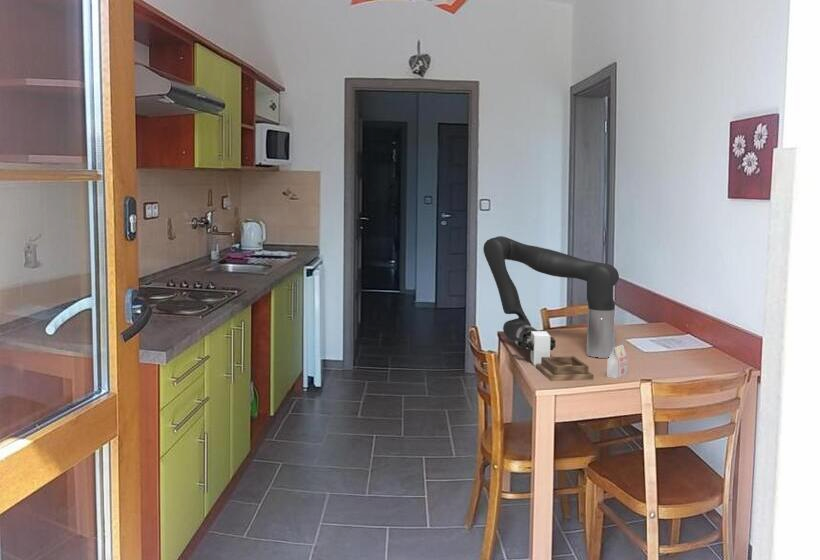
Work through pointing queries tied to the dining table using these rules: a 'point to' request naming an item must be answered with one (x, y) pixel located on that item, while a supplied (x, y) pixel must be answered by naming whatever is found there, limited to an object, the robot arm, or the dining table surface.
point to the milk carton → (617, 362)
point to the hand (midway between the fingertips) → (542, 347)
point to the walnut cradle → (564, 368)
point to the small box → (540, 346)
